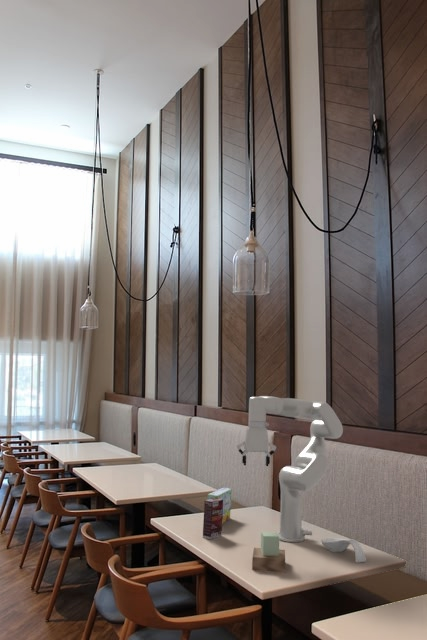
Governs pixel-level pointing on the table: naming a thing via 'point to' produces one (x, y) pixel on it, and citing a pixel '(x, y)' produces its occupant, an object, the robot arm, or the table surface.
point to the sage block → (270, 543)
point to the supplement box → (213, 518)
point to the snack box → (226, 496)
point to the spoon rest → (344, 547)
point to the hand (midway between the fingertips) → (255, 465)
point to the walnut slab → (268, 561)
